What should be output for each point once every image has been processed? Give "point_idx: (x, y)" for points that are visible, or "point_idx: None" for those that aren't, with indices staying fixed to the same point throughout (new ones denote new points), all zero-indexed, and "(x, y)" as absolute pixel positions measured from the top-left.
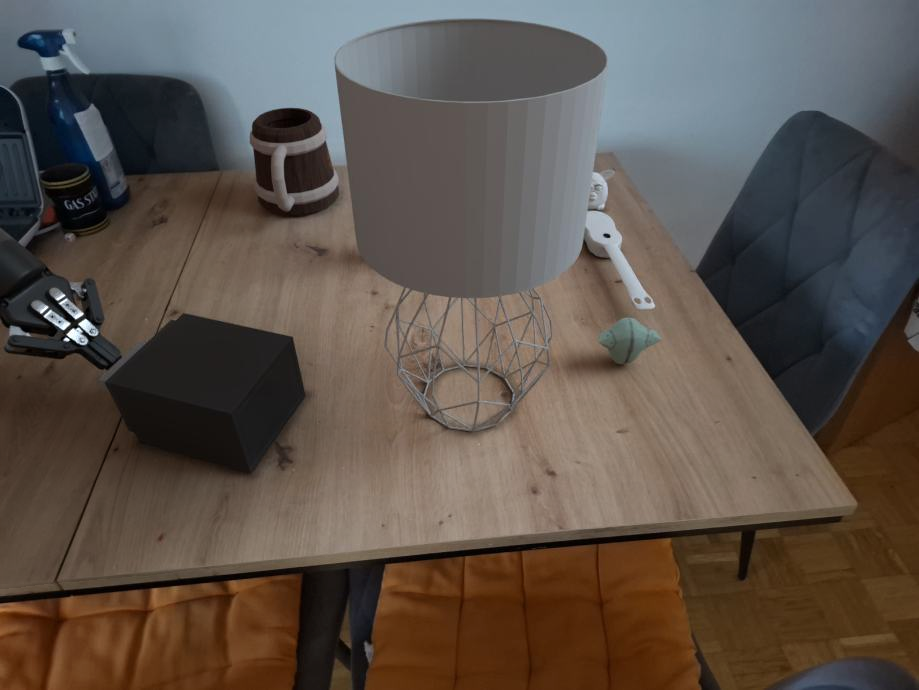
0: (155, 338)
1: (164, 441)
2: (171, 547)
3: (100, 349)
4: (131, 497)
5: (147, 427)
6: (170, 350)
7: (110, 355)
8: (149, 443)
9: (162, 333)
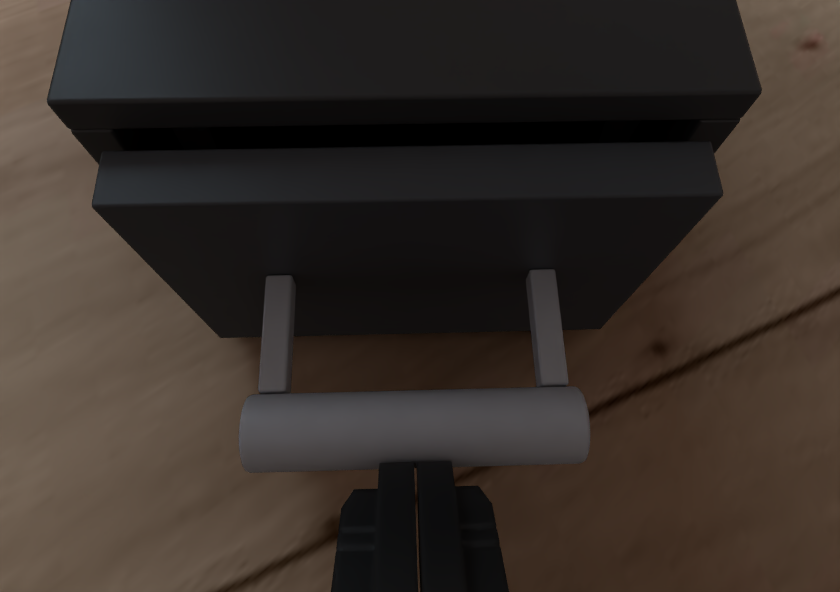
0: (293, 180)
1: None
2: (814, 12)
3: (437, 541)
4: (768, 180)
5: None
6: None
7: (423, 490)
8: None
9: (279, 91)
